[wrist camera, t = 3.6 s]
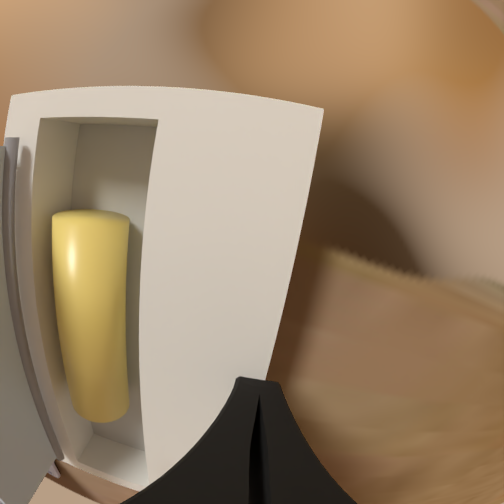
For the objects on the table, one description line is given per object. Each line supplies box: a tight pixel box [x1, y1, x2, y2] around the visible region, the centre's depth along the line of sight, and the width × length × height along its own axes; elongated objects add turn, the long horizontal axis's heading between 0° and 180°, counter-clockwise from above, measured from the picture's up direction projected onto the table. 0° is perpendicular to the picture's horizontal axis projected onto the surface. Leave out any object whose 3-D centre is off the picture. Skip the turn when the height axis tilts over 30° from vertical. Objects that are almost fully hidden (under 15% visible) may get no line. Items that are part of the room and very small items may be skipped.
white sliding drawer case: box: [4, 86, 324, 491], centre depth 12 cm, size 20×11×3 cm, turn 170°
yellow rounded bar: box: [52, 209, 130, 423], centre depth 11 cm, size 9×3×3 cm, turn 169°
